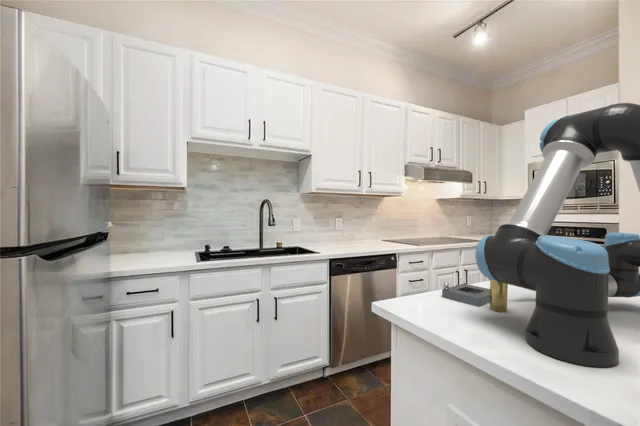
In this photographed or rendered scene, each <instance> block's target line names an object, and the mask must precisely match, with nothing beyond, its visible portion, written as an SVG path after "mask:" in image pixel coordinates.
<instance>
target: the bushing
mask: <svg viewBox="0 0 640 426" xmlns="http://www.w3.org/2000/svg"><path fill="white" fill-rule="evenodd" d="M508 285H509V284H505V283H499V282H497V281H495V280H492V279H490V280H489V289H490V303H489V310H491V311H493V312H497V313H507V312H508V290H509V289H508V287H509V286H508Z"/></svg>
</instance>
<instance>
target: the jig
mask: <svg viewBox="0 0 640 426" xmlns="http://www.w3.org/2000/svg"><path fill="white" fill-rule="evenodd" d="M449 286H450V285H449V282H443V287H442V288H443V289H441V298H444V299H449V300H452V301H456V302H459V303H463V304H466V305H471V306H475V307H478V308H479V307H482V306H485V305H487V304H490V288H487V287H482V286H477V285H473V284H472V285H471V284H467V283H460V284H457V285H453V286H450V287H449Z"/></svg>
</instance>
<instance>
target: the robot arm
mask: <svg viewBox="0 0 640 426" xmlns="http://www.w3.org/2000/svg"><path fill="white" fill-rule="evenodd" d="M539 140H540V142H539V149H540V152H541V154H542V157H543V158H544V159H543V161H542V163H541V165H540V167H539V168H538V170H537V171H536V174H535V175H534V178H533V179H532V181H531V183H530V184H529V186H528V188H527V189H526V192H525V194H524V195H523V197H522V198H521V200H520V202H519V205H518V206H517V207H516V209H515V211H514V212H513V215H512V217H511V219H510V220H509V222H506V223H503V224H500V225H499V227H498V229H497V230H496V232H495V234H494V235H487V236H483V238H481V239H480V240H479V242H477V245H476V248H475V256H474V257H475V260H476V266H477V268H478V270H479V272H480V273H481V274H482V275H483V276H484V277H486V278H487V279H488V280H489V279H492V280H495V281H497V282H499V283H505V284H508V285H509V286H514V287H518V288H522V289H525V290H530V291H533V292H535V306H534V307H535V308H534V310H533V312H532V314H531V316H530V319H529V321H528V323H527V326H526V328H525V340H524V341H525V342H526V343H527V345H528V346H530V347H531V348H533V349H534V350H536V351H538V352H540V353H541V354H544V355H546V356H549V357H552V358H554V359H558V360H560V361H565V362H567V363H571V364H575V365H581V366H587V367H596V368H607V367H608V368H609V367H614V366H616V365H618V364H619V360H620V350H619V347H618V344H617V341H616V338H615V336H614V334H613V332H612V328H611V326H610V324H609V321H608V307H609V305H608V304H609V298H627V299H629V298H636V297H640V273H639V272H640V269H639V268H640V235H639V234H638V233H631V232H609V233H606V234H605V236H604V243H603V244H604V245H603V246H602V245H600V244H598V243H595V242H592V241H588V240H583V239H579V238H572V237H564V236H555V235H548V233H549V232H550V229H551V227H552V225H553V224H554V221H555V219H556V218H557V216H558V214H559V212H560V210H561V208H562V207H563V204H564V203H565V200H566V198H567V197H568V195H569V193H570V192H571V190H572V187H573V185H574V183H575V182H576V179H577V178H578V175H580V173H581V171H582V169H586V168H587V167H589V166H591V165H592V164H593V162H594V161H595V158H596V157H597V155H598V154H602V153H609V152H615V151H617V152H619V153H620V154H621V155H620V156H621V158H622V160H623V161H625V162H627V163H629V165H630V166H631V167H630V168H631V170H632V173H633V177H634V178H635V179H634V180H635V181H636V182H635V183H636V185H637V189H638V190H639V193H640V104H637V103H633V102H631V103H630V102H620V103H619V102H618V103H613V104H610V105H607V106H603V107H599V108H596V109H591V110H586V111H583V112H578V113H574V114H570V115H566V116H565V115H564V116H563V117H560V118H557V119H554V120H552V121H550V122H549V123H548V124H546V126H545V127H544V129H543V130H542V132H541V134H540V138H539Z"/></svg>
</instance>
